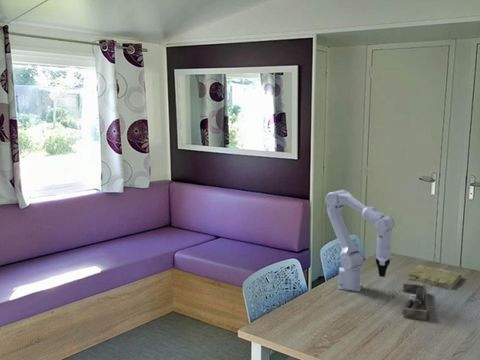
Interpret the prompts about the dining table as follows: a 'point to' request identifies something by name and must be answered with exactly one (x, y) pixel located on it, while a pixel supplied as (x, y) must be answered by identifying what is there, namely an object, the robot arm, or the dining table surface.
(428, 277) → the decorative tile
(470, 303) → the dining table surface
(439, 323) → the dining table surface
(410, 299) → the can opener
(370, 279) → the dining table surface
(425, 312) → the box
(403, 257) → the dining table surface
